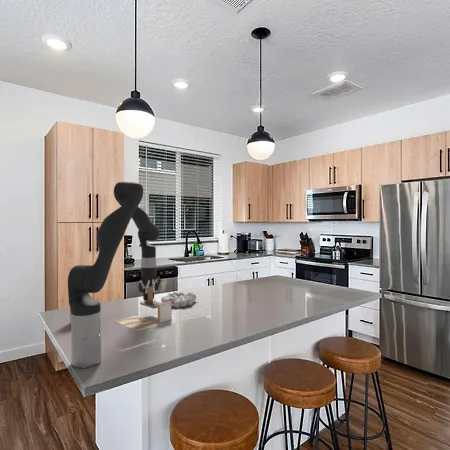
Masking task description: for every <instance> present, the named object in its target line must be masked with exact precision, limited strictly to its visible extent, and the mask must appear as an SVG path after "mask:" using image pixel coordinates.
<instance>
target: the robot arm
mask: <svg viewBox="0 0 450 450" xmlns="http://www.w3.org/2000/svg"><path fill="white" fill-rule="evenodd" d="M143 196H144V186H143V185H142V183H139V182H134V181H118V182H117V183H115V185H114V186H113V197H114V199H115V201H116V202H117V203H118V205H120V207H118V208H116V209H115V210H113V211H112V212H111V213H110V214H108V215H107V216H106V217H105V218H104V219H103V220H102V222H101V224H100V225H99V228H98V230H97V232H96V243H97V248H98V255H97V257H96V259H95V262H94V264H93V265H87V264H77V265H75V266H73V267H71V269H70V271H69V273H68V275H67V276H68V277H67V295H68V296H67V297H68V305H69V309H70V308H71V321H70V323H71V324H70V326H71V336H70V339H71V340H70V341H71V345H70V346H71V347H70V348H71V349H70V350H71V365H72V367H74V368H79V369H80V368H81V369H86V368H89V367H92V366H95V365H98V364H101V363H102V336H101V332H102V331H101V329H102V328H101V320H102V319H101V316H102V315H101V312H102V311H101V307H102V306H101V303H100V301H98V300H97V299H94V298H93V297H92V296H91V295H90V294H95V293H99V292H100V291H101V290H102V289H103V287H104V285H105V284H106V281H107V280H108V275H109V273H110V270H111V267H112V265H113V260H114V258H115V256H116V253H117V250H118V249H119V246H120V243H121V242H122V241H123V239H124V238H123V237H124V236H125V233H126V231H127V228H128V226H129V224H130V221H131V220H133V222H134V225H135V226H136V227H137V230H138V231H137V237H138V241H139V243H140V247H141V260H140V261H141V262H140V273H141V274H140V275H141V278H140V280H139V281H136V282H135V285H136V287H137V289H138V292H139V293H142V295H143V296H142V299H143V302H145V301H147V291H148V288H149V286H152V287H153V300H155V299H154V298H155V292H156V291H158V290H159V288H160V284H161V281H162V279H161V278H157V255H156V254H157V247H156V246H155V245H152V244H149V243H148V242H150V241H153V242H155V241H157V240H158V239H159V238H160V235H161V234H160V230H159V227H157V226H156V224H155V223H153V222H152V221H151V219H150V217H149V215H148V213H147V212H146V211H145V210H144V209H142V207H140V204H141V201H142V200H143ZM147 241H148V242H147Z"/></svg>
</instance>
